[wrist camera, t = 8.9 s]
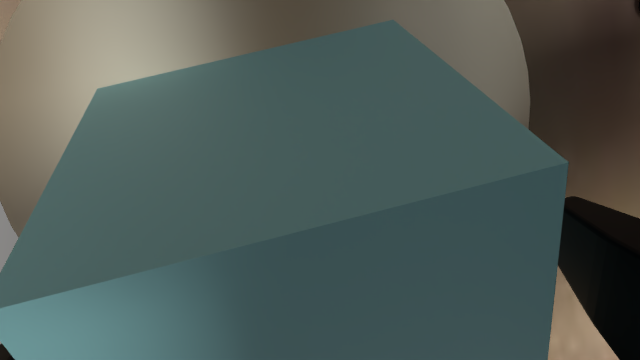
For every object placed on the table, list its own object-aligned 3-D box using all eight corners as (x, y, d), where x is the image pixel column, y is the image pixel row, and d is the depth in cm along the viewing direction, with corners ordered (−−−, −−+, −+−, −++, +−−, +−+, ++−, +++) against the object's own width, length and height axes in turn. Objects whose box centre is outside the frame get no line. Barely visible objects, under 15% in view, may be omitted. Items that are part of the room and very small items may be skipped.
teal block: (392, 19, 10) (568, 162, 5) (414, 243, 13) (535, 466, 8) (97, 87, 10) (-22, 313, 5) (192, 302, 13) (181, 570, 8)
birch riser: (528, -47, 14) (628, -22, 11) (382, 280, 19) (418, 366, 16) (52, -213, 10) (-24, -254, 7) (36, 243, 16) (-11, 343, 13)
